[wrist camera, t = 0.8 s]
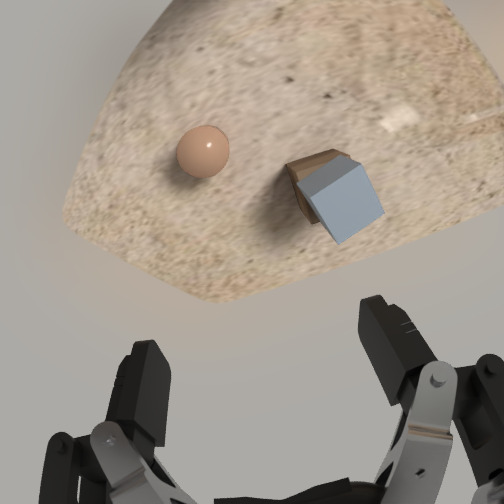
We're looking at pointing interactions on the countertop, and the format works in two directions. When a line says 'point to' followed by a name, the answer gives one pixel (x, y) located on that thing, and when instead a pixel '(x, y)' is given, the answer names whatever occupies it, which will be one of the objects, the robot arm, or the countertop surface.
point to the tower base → (305, 168)
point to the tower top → (341, 197)
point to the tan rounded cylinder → (203, 151)
